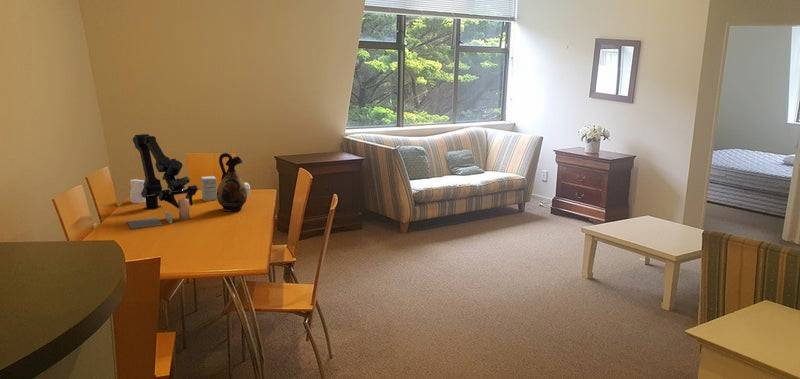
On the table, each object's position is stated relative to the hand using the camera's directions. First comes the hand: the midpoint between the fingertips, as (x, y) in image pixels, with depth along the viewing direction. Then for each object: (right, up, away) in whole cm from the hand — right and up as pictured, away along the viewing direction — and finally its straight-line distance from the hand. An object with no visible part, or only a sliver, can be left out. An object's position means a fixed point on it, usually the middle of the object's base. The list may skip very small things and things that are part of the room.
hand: (185, 206), depth 291 cm
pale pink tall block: (-1, -6, +2) cm, 7 cm away
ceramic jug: (+16, -2, +23) cm, 28 cm away
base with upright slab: (-39, +1, +38) cm, 54 cm away
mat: (-17, -8, -7) cm, 20 cm away
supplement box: (-3, +3, +45) cm, 45 cm away
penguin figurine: (+13, +3, +50) cm, 52 cm away
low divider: (-8, -7, -2) cm, 10 cm away
